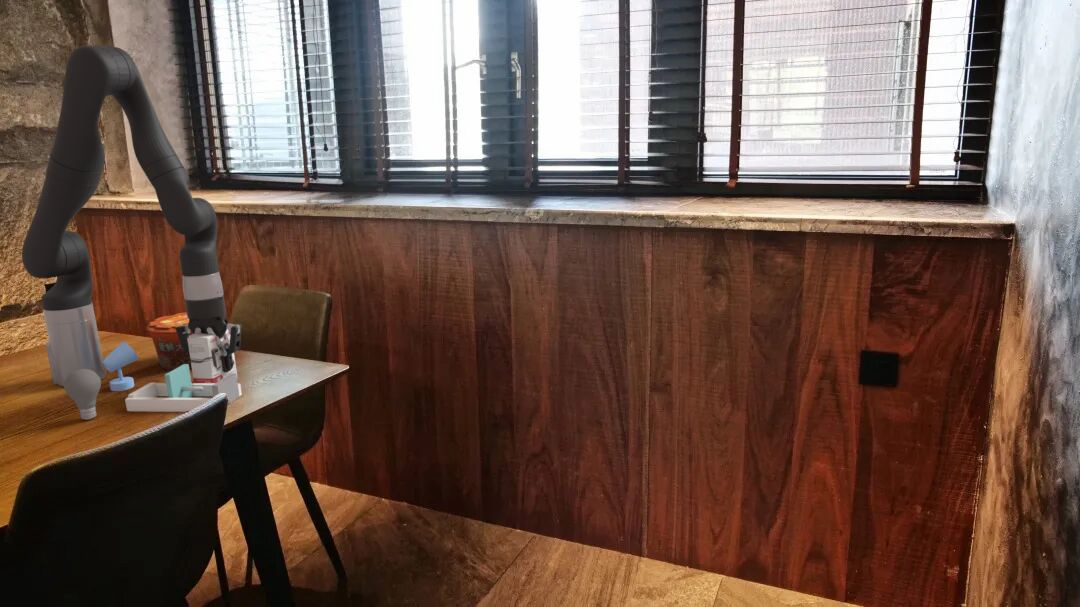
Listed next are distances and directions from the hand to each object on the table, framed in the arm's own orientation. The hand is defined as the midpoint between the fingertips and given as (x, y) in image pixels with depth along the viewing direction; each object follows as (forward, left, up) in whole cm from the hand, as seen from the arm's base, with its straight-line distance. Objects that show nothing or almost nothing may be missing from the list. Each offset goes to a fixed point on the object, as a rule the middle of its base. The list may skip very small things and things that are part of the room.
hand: (215, 370), depth 157 cm
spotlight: (-20, -2, -3) cm, 20 cm away
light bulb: (-15, -19, -3) cm, 25 cm away
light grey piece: (-1, -11, -3) cm, 11 cm away
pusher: (+1, -11, -3) cm, 11 cm away
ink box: (0, 0, -3) cm, 3 cm away
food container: (-15, +15, -3) cm, 22 cm away
